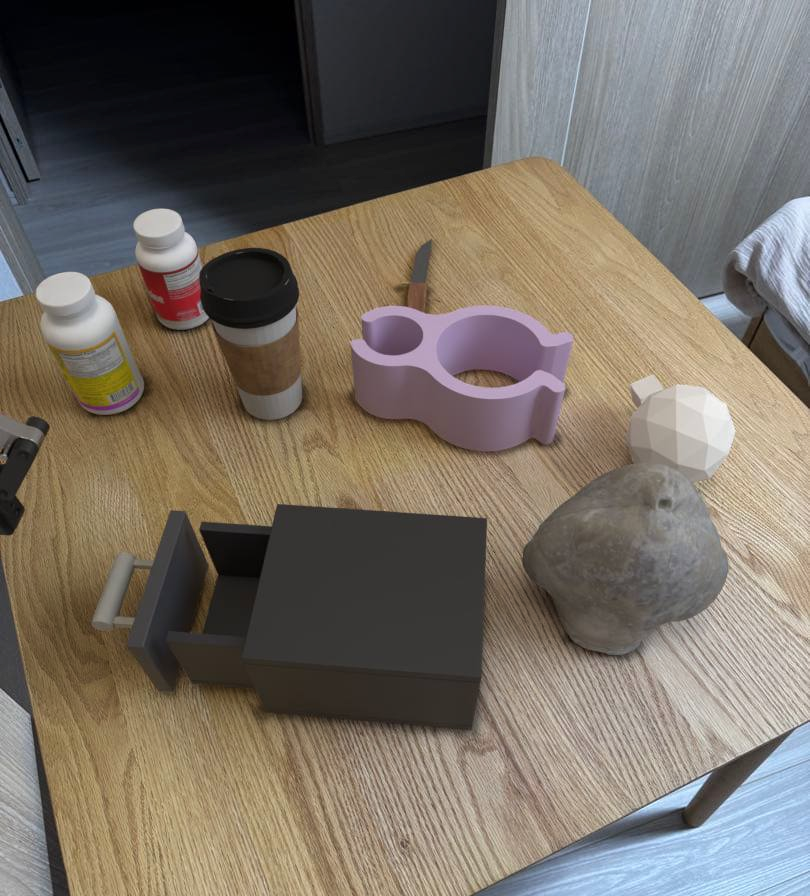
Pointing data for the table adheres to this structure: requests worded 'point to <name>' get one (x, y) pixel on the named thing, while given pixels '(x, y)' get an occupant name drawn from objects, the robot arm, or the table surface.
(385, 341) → the clip
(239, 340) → the coffee cup
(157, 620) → the dark brown drawer
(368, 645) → the dark grey drawer box
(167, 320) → the pill bottle
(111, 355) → the supplement bottle
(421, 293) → the knife
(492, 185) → the table surface
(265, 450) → the table surface
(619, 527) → the decorative stone
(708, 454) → the perfume bottle
